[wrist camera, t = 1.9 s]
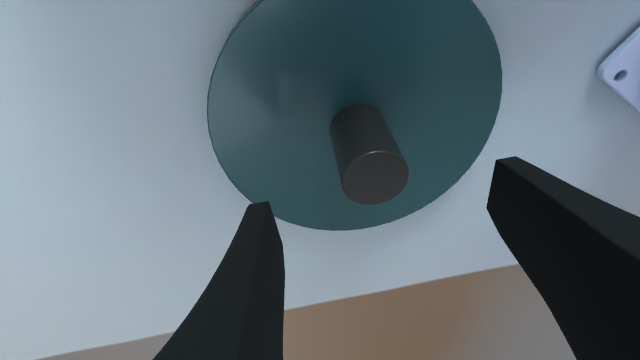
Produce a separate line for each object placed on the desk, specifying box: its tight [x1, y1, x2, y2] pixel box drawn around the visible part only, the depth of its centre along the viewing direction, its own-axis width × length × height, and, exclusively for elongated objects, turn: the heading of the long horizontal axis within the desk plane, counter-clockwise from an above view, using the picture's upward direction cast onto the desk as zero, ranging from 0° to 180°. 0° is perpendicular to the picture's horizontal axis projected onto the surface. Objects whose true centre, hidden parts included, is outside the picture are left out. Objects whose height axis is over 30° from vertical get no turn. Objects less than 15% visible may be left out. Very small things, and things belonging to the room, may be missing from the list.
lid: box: [207, 0, 502, 230], centre depth 14 cm, size 12×12×5 cm
